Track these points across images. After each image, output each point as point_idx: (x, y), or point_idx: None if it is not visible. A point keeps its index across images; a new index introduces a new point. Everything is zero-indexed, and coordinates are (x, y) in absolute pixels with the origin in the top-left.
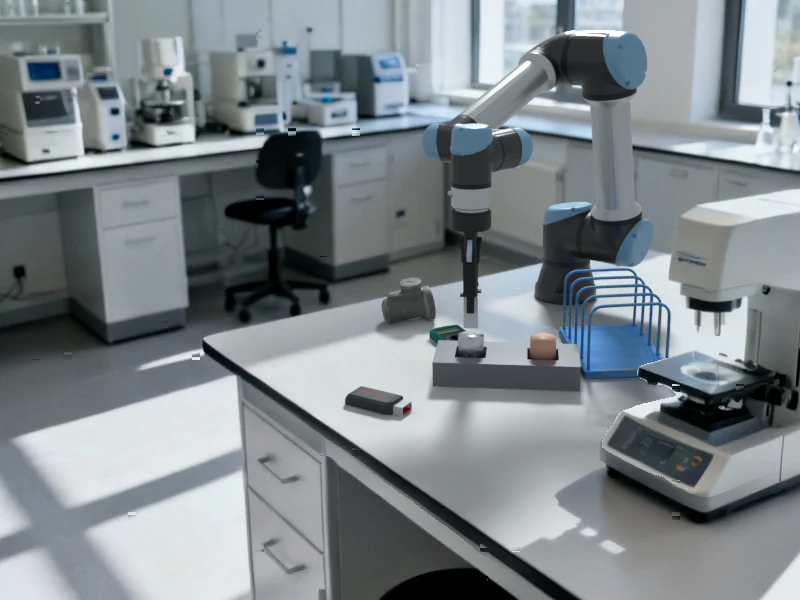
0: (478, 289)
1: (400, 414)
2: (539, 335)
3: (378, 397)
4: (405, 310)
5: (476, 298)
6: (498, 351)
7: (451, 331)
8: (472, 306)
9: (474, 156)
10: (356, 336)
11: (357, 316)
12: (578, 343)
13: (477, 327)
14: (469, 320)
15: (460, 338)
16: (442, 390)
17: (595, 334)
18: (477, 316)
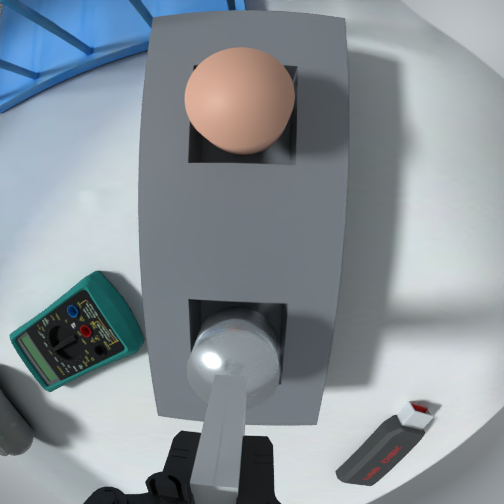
0: (152, 491)
1: (427, 411)
2: (218, 109)
3: (397, 455)
4: (10, 423)
5: (238, 482)
6: (226, 262)
7: (35, 352)
8: (272, 468)
9: None
10: (92, 473)
11: (28, 454)
12: (67, 50)
13: (240, 377)
14: (244, 422)
15: (260, 403)
16: (330, 368)
17: (30, 30)
18: (244, 409)
